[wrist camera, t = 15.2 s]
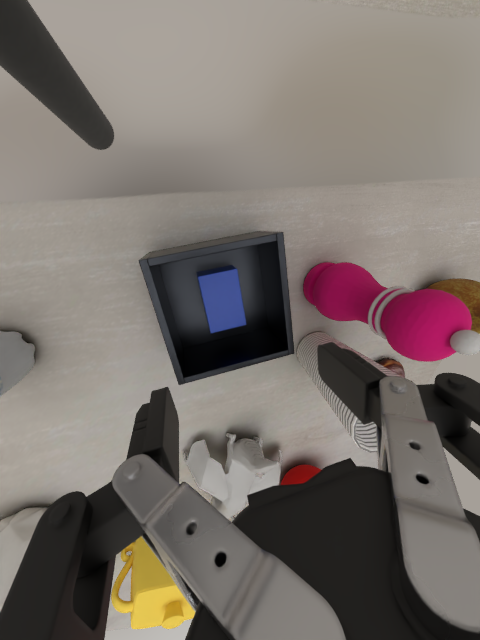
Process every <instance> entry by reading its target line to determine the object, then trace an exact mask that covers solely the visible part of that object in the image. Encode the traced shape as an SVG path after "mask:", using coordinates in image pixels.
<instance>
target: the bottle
mask: <svg viewBox="0 0 480 640" xmlns="http://www.w3.org/2000/svg"><path fill="white" fill-rule="evenodd" d="M21 337H22V334H20V333H18V332H14V331H12V332H3V331H1V330H0V396H2V395H3V394H4V393H5V392H7V391H8V390H9V389H10V388H12V387H13V386H14V385H16V384H17V383H18V382H19V381H20V380H22V379H23V378H24V377H25V376H26V375H27V374H28V373H29V371H30V370H31V369H32V368H33V366H34V364H35V359H34V352H35V346H34V345H33V344H32V343H29V344H27V343H26V342H25V341H24V340H22V338H21Z"/></svg>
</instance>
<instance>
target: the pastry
mask: <svg viewBox="0 0 480 640" xmlns="http://www.w3.org/2000/svg"><path fill="white" fill-rule="evenodd" d="M377 363H378V364H380V365H382V366H383V367H385V368H387V369H389V370H391V371H392V372H394V373H396V374H398V375H399V376H401V377H403V378H405V373H404V369H403V366H402V365H401V364H400V363H399V362H397V361H395V360H393V359H384V360H381V361H379V362H377Z"/></svg>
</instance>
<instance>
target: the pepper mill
mask: <svg viewBox="0 0 480 640" xmlns="http://www.w3.org/2000/svg"><path fill="white" fill-rule="evenodd" d="M303 291H304V295H305V297H306V299H307V300H308V301H309V302H310V303H311V304H313V305H315V306H316V308H317V309H318V311H319V312H320V313H321V314H322V315H324V316H326V317H328V318H330V319H333V320H337V321H353V320H359V321H362V322H364V323H367V324H369V327H370V329H371V330H372V331H373V332H374V333H375V334H377V335H379V336H381V337H382V338H384V339H387V341H388V343H389V344H390V345H391V347H392V348H393V349H394V350H395V351H397V352H398V353H400V354H401V355H403V356H405V357H408V358H410V359H413V360H417V361H437V360H441V359H444V358H446V357H449V356H450V355H452V354H454V353H455V352H458V353H460V354H465V355H472V354H475V353H478V352H479V351H480V334H478V333H477V332H475V331H472V330H471V325H472V319H471V314H470V312H469V309H468V308H467V306H466V305H465V304H464V303H463V302H462V301H461V300H460V299H459V298H457V297H456V296H454V295H452V294H450V293H447V292H444V291H442V290H434V289H422V290H417V291H415V290H413V289H407V288H405V287H401V286H395V287H391V288H386V287H383V286H381V285H380V284H379V283H378V282H377V281H376V280H375V279H374V278H373V277H372V275H371V274H370V273H369V272H368V271H366V270H365V269H364V268H362V267H360V266H358V265H355V264H352V263H347V262H345V263H337V264H334V263H330V262H325V263H321V264H318V265H317V266H315V267H313V268H312V269H311V270H310V272H309V273H308V274H307V276H306V278H305V281H304V285H303Z"/></svg>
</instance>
